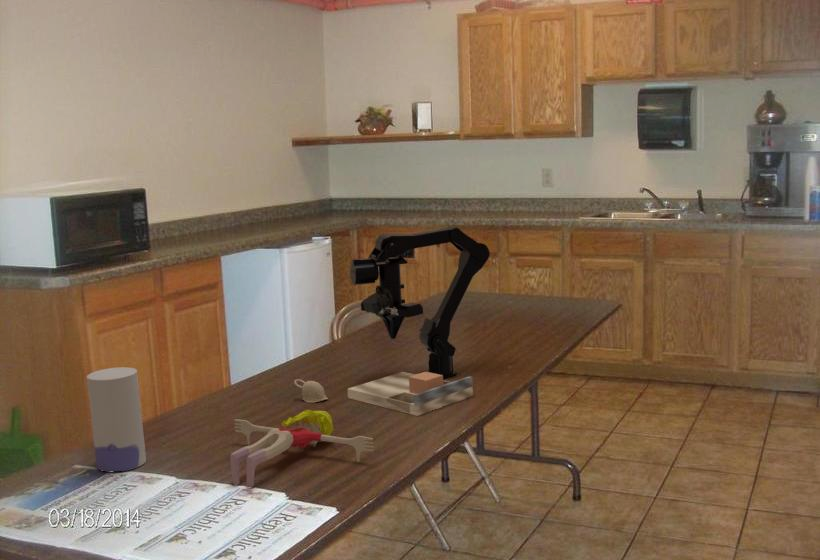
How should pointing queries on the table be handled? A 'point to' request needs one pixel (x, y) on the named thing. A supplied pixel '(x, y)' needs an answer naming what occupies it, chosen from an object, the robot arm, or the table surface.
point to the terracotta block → (424, 382)
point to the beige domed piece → (311, 391)
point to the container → (116, 419)
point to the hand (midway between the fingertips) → (393, 338)
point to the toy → (288, 440)
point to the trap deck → (410, 394)
